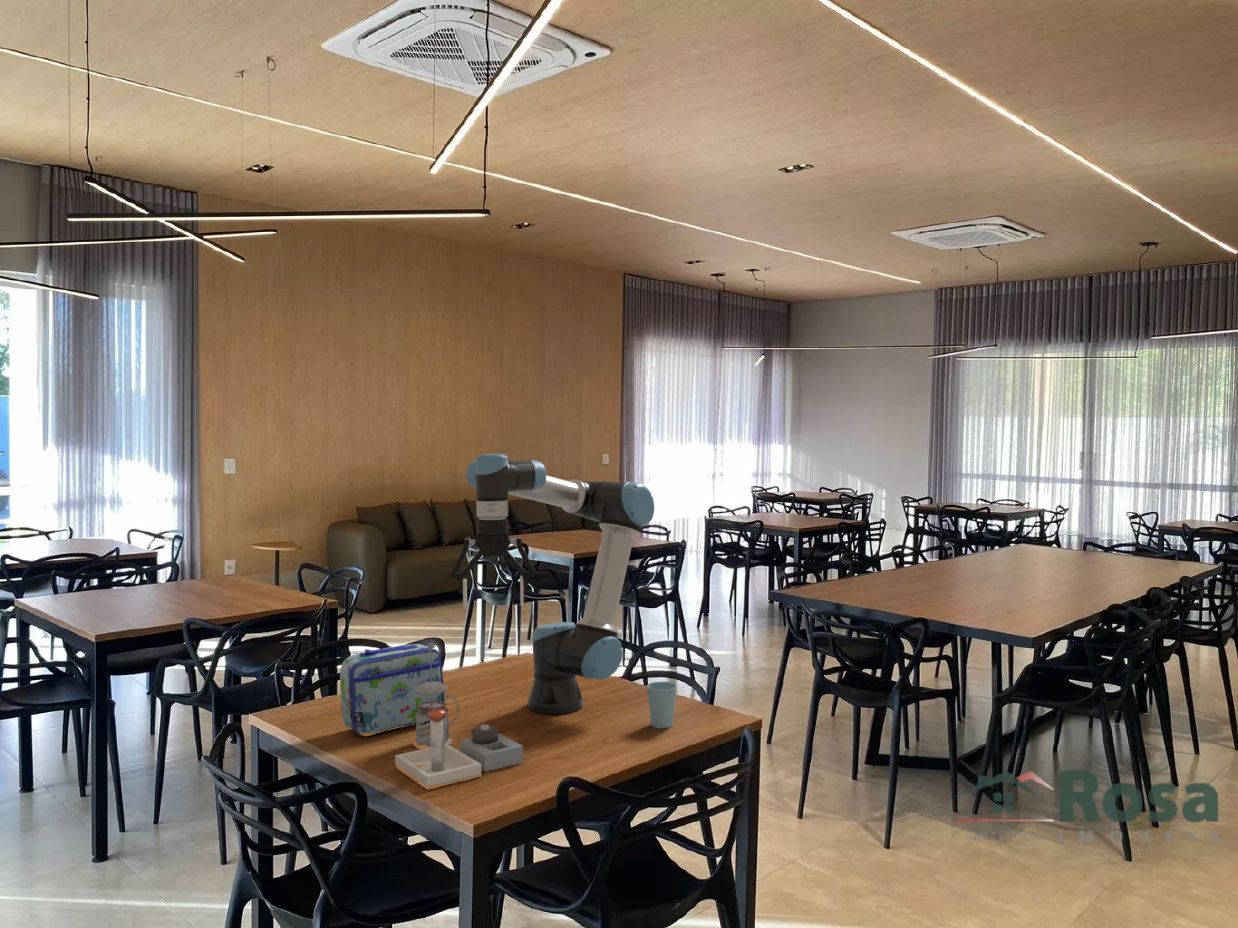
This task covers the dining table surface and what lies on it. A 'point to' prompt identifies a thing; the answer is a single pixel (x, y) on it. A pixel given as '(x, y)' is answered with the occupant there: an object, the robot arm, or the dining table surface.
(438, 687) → the french press
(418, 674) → the lunch box
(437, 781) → the parts tray
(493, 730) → the grey block with knob
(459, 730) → the dining table surface
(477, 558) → the robot arm
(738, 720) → the dining table surface
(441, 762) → the pin
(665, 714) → the cup
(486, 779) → the dining table surface
